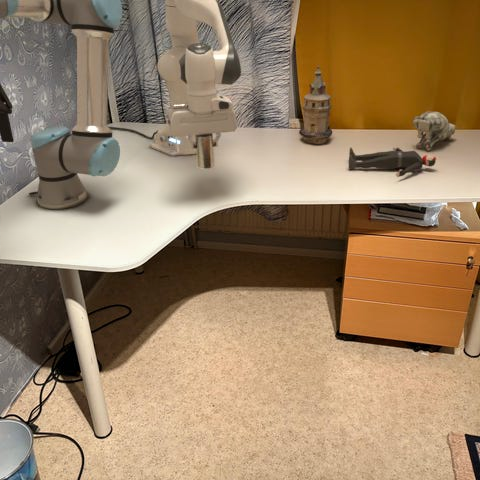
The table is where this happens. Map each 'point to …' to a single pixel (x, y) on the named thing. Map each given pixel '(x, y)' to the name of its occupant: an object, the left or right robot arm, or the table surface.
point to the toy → (391, 160)
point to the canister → (204, 151)
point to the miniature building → (316, 112)
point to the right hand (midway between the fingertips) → (204, 147)
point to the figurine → (432, 128)
